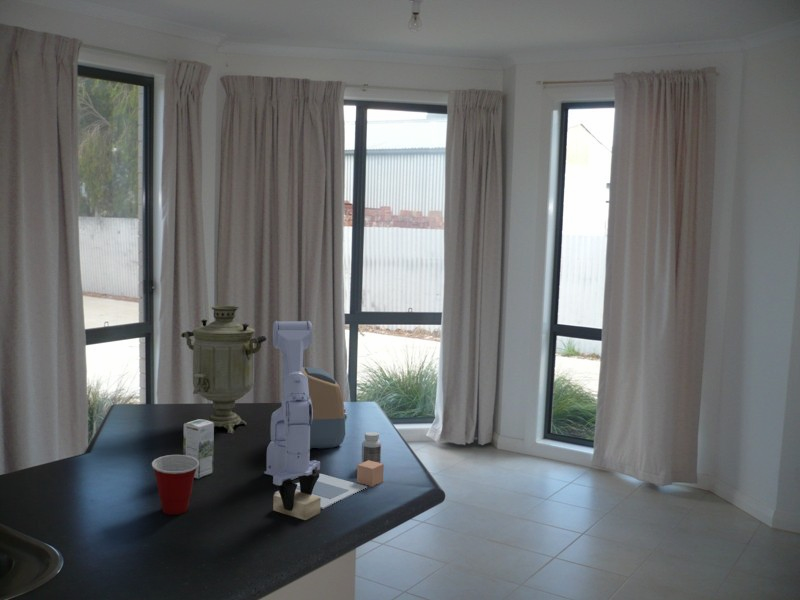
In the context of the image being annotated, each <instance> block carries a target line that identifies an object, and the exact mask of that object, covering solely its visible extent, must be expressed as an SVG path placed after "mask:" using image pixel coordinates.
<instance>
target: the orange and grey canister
mask: <svg viewBox="0 0 800 600" xmlns="http://www.w3.org/2000/svg"><path fill="white" fill-rule="evenodd" d="M303 374H304V375H306V376H307V378H308V388H309V397H310V398H311V403H312V408H313V419H312V424H310V419H309V424H310V450H313V449H312V448H318V449H331V448H332V449H333V448H336V447H338V446H340V445H342V444H343V442H344V440H345V437H346V416H345V405H344V395H343V392H342V390H341V387H340V385H339V384H338V381H336V380H335V379H334V377H333V376H332V375H331V374H330V373H328V372H327V371H325V370H323V369H321V368H316V367H311V366H305V367H304V366H303Z"/></svg>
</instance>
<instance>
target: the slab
mask: <svg viewBox="0 0 800 600" xmlns="http://www.w3.org/2000/svg"><path fill="white" fill-rule="evenodd" d="M272 498H273V500H272V501H273V507H272V508H273V510H272V511H275V512H278V513H281V514H284V515H287V516H291V517H293V518H294V517H295V518H297V519H300V520H304V521H307V520H309V519H311V518H314V517H315V516H317V515H319V514H321V508H320V502H321V498H320V497H316V496H313V495H309V494H306V493H302V492H299V491H295V494H294V503H293V509H292V511H288V510H285V509H284V506H283V502H282V498H281V495H280V493H277V494H273V497H272Z"/></svg>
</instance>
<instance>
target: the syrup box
mask: <svg viewBox="0 0 800 600" xmlns="http://www.w3.org/2000/svg"><path fill="white" fill-rule="evenodd" d="M207 420H208V419H201V418H200V419H199V418H198V419H195V420H191V421H188V422H185V423H183V439H182V440H183V442H182V443H183V445H182V446H183V447H182V448H183V450H182V452H183V454H182V455H186V456H190V457H194V458H195V459H197V460H198V461H199V466H198V467H197V468H196V471H195V475H194V479H201V478H203V477H206V476H209V475H212V474H213V473H214V448H215V447H214V446H215V445H214V440H215V439H214V436H215V435H214V432H215V427H214V423H213V422H210V421H207Z"/></svg>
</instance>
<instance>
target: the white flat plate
mask: <svg viewBox="0 0 800 600" xmlns="http://www.w3.org/2000/svg"><path fill="white" fill-rule="evenodd" d="M295 484H297V488H296V490H295V491H299V492H300V483H299V482H296V483H295ZM365 488H366V489H368V486H367V485H363V484H360V483H357V482H352V481H348V480H346V479H342V478H338V477H335V476H331V475H327V474H323V473H319V478H318V480H317V481H316V483H315V486H314V488H313V491H312V495H313V496H316V497H320V498H321V502H320V509H322V510H324V509H326V508H328V507H330V506H332V504H333V505H334V503H335V504H336V502H337V503H338V501H339V502H341V501H343V500H345V499H347V498H349V497H351V496H353V494H354V495H355V493H356V494H357V492H358V493H359V491H360V492H362V491H364V490H366V489H365ZM363 489H364V490H363ZM361 490H362V491H361ZM277 493H279V491H278V490H277V491H275V492H274V494H273V495H275V494H277ZM340 500H341V501H340Z"/></svg>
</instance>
